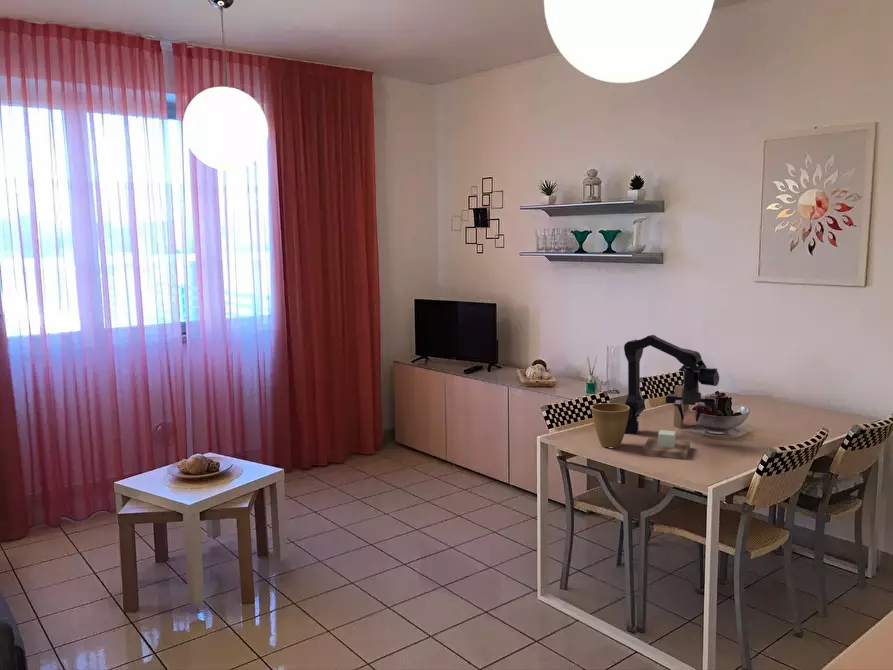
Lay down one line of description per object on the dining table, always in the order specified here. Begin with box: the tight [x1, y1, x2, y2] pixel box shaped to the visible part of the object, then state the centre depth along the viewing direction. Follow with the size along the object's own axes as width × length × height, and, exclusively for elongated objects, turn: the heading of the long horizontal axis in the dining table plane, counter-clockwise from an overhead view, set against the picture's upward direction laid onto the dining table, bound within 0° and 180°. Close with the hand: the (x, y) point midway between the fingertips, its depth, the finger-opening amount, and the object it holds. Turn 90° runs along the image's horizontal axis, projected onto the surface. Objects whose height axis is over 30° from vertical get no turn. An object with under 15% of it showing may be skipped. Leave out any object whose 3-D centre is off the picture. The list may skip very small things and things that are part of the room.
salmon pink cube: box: [683, 409, 698, 426], centre depth 292 cm, size 5×5×5 cm
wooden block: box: [673, 384, 694, 429], centre depth 318 cm, size 9×4×18 cm, turn 119°
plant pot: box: [590, 402, 630, 449], centre depth 291 cm, size 15×15×16 cm
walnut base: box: [642, 437, 691, 460], centre depth 283 cm, size 16×16×2 cm
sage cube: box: [657, 429, 677, 448], centre depth 282 cm, size 6×6×5 cm
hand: (689, 420), depth 293 cm, fingers closed on salmon pink cube, 5 cm apart
